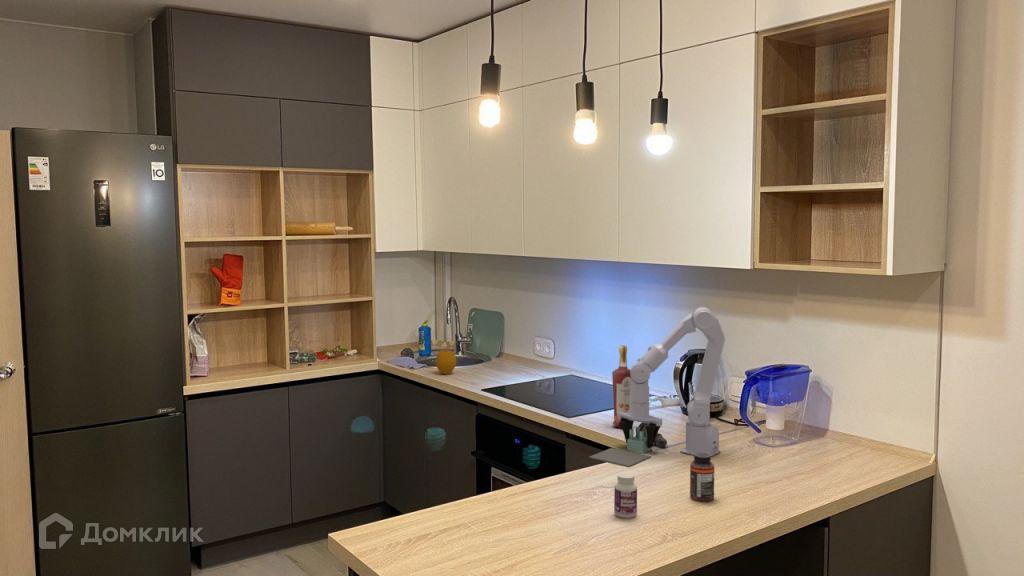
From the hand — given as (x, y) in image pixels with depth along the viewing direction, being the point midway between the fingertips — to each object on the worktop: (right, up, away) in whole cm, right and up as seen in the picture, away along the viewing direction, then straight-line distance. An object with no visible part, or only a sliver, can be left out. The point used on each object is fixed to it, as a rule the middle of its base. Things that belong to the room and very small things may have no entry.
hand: (639, 445), depth 242 cm
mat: (-7, -2, -8) cm, 11 cm away
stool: (0, -2, 0) cm, 2 cm away
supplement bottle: (+9, -5, -43) cm, 44 cm away
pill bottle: (-12, -6, -54) cm, 56 cm away
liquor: (-1, 0, +28) cm, 28 cm away
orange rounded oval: (-70, +8, +127) cm, 145 cm away
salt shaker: (+3, +3, +11) cm, 12 cm away
